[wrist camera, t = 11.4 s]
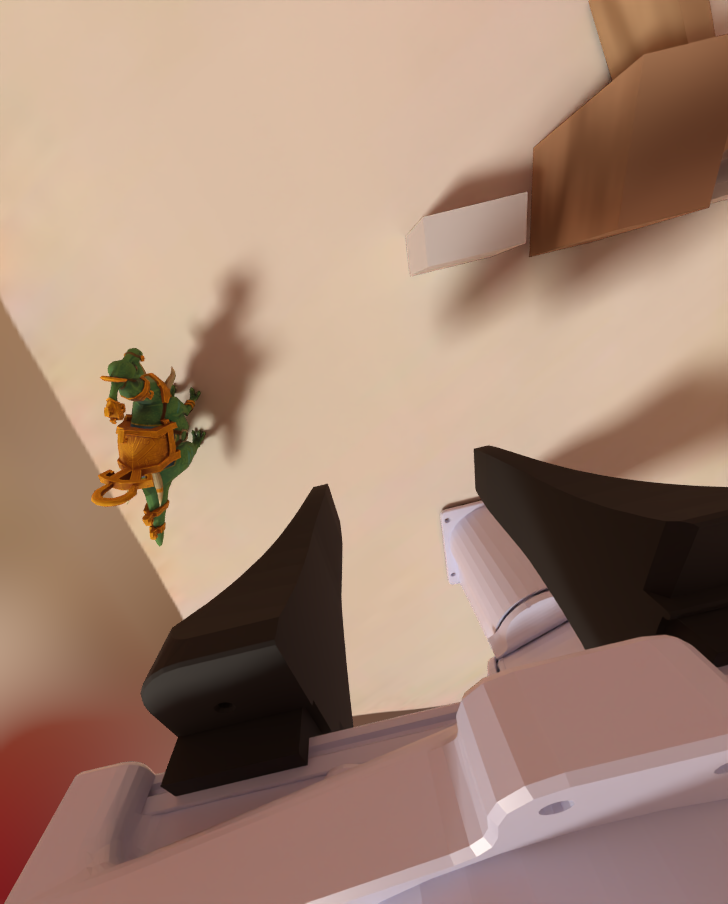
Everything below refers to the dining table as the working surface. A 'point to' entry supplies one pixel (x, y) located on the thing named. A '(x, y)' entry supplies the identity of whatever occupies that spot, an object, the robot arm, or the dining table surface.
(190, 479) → the dining table surface
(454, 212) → the wall frame
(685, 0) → the door
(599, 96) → the block
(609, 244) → the dining table surface
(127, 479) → the figurine
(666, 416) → the dining table surface
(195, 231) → the dining table surface
